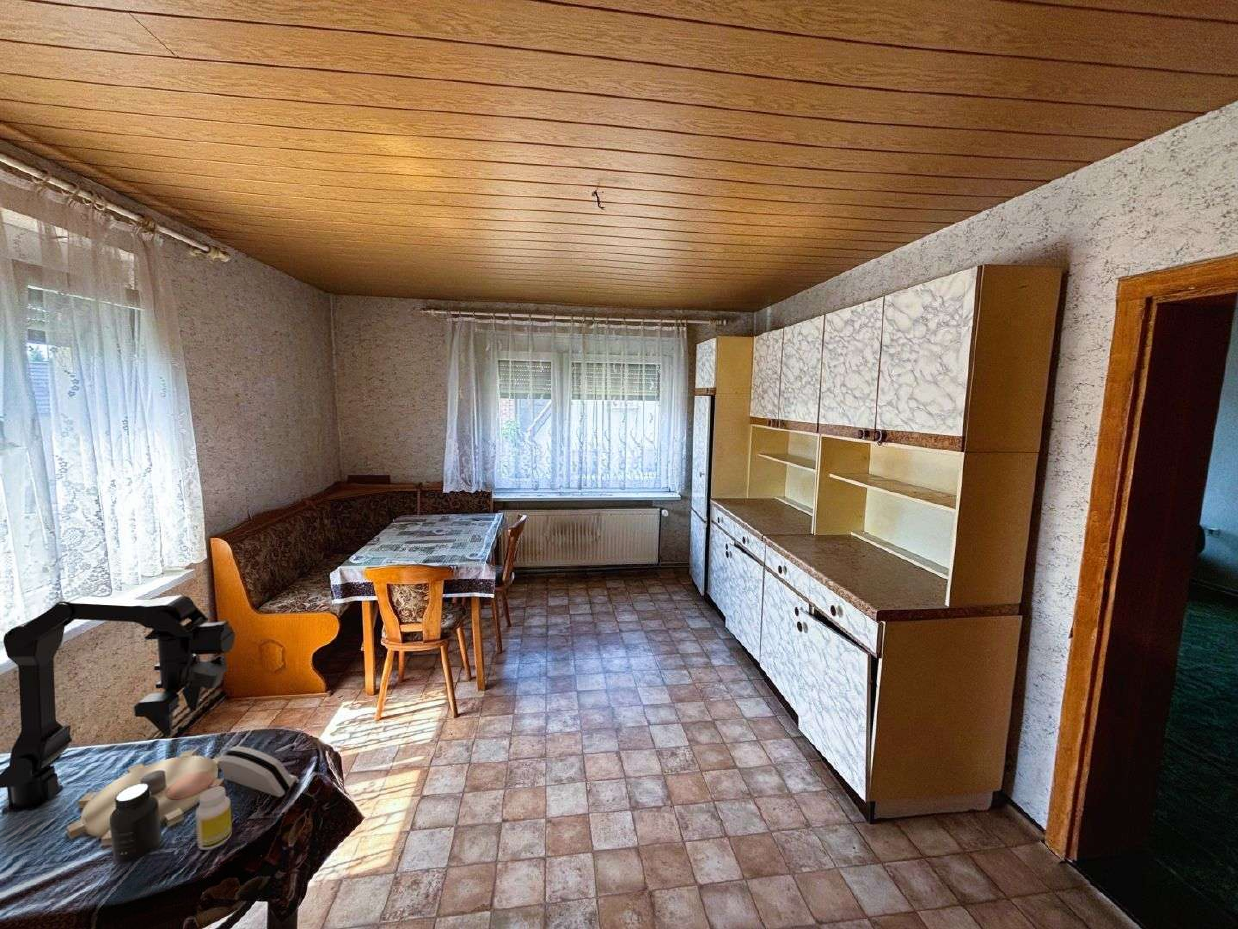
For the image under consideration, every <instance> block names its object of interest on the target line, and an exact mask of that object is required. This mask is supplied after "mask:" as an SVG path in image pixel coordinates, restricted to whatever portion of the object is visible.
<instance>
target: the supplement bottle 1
mask: <svg viewBox="0 0 1238 929" xmlns="http://www.w3.org/2000/svg"><path fill="white" fill-rule="evenodd" d="M115 808H116V809H115V810H114V811H113V812H112V814H111V816H110V829H111V838H112V845H111V846H112V851H113V852H112V854H113V860H114V861H115V862H117V863H120V864H126V863H133V862H135V861H137V860H141V859H142V858H144V857H146V856H148V855H149V854H150V853H152V852H153V851H154V850H155V849H156V848H157V847H158V846H159V845H160V843H161V841H162V824H161V823H160V813H159V804H158V799H157V798H156V797H155V796H153V795H151V792H150V787H149V785H148V784H145V783H141V784H136V785H133V786H130V787H128V788H126V789H124V790H123V791H121V792H120V793H118V795H117V796H116V798H115Z"/></svg>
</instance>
